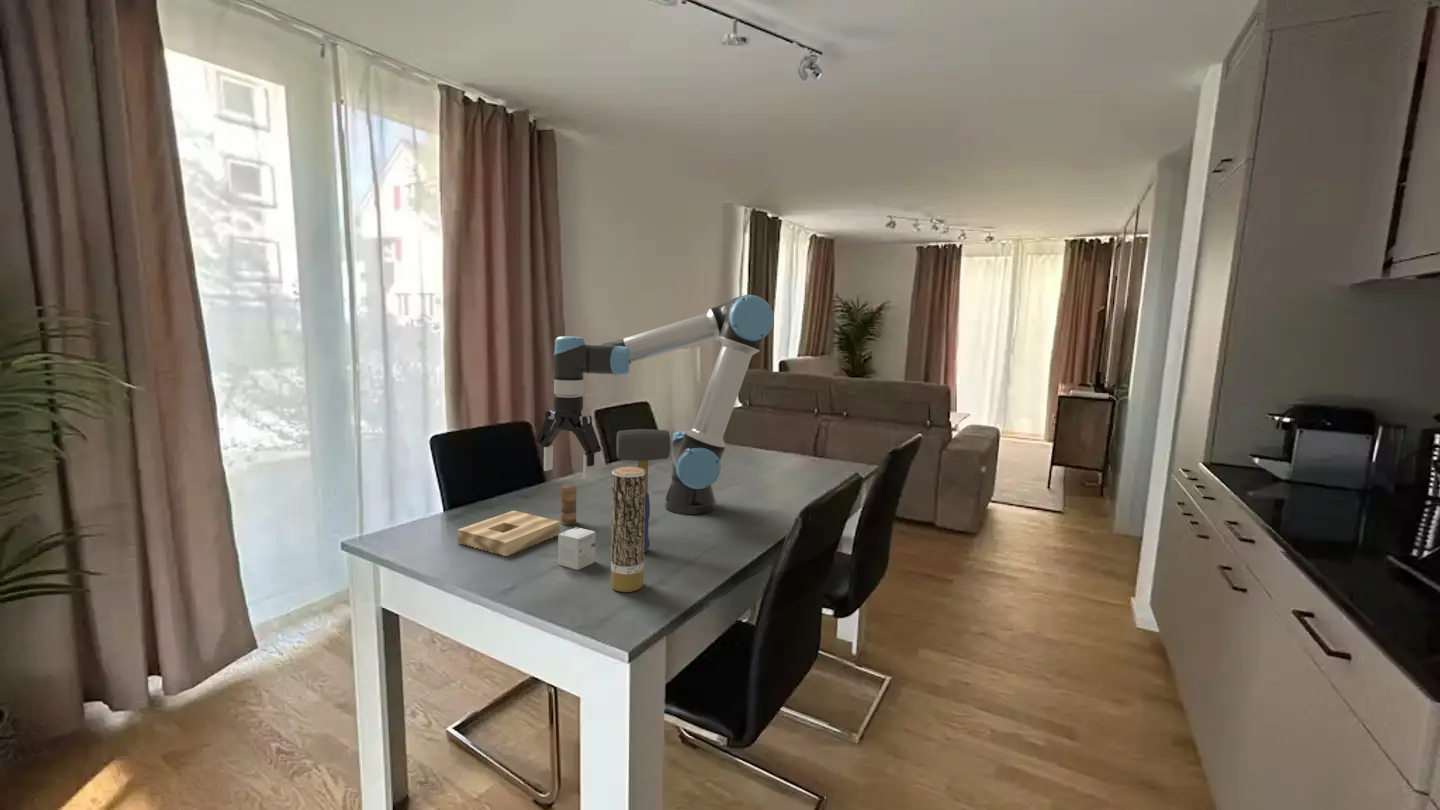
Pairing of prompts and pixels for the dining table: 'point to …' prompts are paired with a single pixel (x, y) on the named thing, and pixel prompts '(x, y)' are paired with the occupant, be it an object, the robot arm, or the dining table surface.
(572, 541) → the skincare box
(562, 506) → the peg
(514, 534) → the board
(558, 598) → the dining table surface
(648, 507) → the rubber mallet
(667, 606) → the dining table surface
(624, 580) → the paper tube
